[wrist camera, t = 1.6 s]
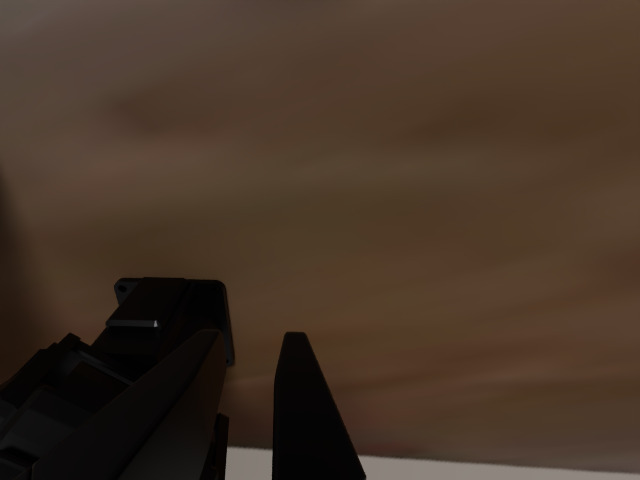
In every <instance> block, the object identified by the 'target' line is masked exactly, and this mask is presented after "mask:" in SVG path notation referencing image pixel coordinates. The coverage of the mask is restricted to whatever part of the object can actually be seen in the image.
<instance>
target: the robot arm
mask: <svg viewBox="0 0 640 480" xmlns="http://www.w3.org/2000/svg"><path fill="white" fill-rule="evenodd" d="M122 285H123V286H125V287H126V288H127V289H126V288H124V287H122ZM213 287H215V288H217V289H218V291H216V290H214V289H213ZM114 290H115V293H116V297H117V300H118V304H119V307H118V308H117V309H116V310H115V311H114V313H113V314H112V315H111V316H110V317H109V319H108V320H107V321H106V323H105V324H106V328H105V329H104V330H103V332H102V333H101V334H100V335H99V337H98V338H97V339H96V340H95V341H94V343H93V344H92V345H91V346H90V345H88V344H86V343H84V342H82V341H80V339H81V338H79V337H78V336H76V335H74V334H72V333H69V334H68V335H67V336H66V337H65V338H63V339H62V340H61V341H60V342H59V343H58V344H57V343H55V342H54V343H53V344H52V345H51V346H50V347H48V348H47V349H40V350H39V351H38V352H37V353H36V354H35V355H34V356H33V357H32V358H31V359H30V360H29V361H28V362H27V363H26V364H25V365H24V366H23V367H22V368H21V369H20V370H19V371H18V372H17V373H16V374H15V375H14V376H12V377H11V378H10V379H9V380H7V381H6V382H4V383H3V384H2V385H0V480H225V469H226V455H227V454H226V453H227V441H228V427H229V417H227V416H225V415H223V414H221V413H219V414H217V410H218V406H219V401H220V396H221V392H222V387H223V382H224V377H225V373H226V367H227V366H230V365H231V364H232V362H233V359H234V354H233V346H232V338H231V331H230V323H229V315H228V308H227V300H226V292H225V286H224V284H223V283H222V282H220V281H218V280H194V279H184V278H157V277H144V278H121V279H119V280H118V281H117V282H116V283H115V285H114ZM226 358H227V359H226ZM272 480H366V475H365V472H364V470H363V468H362V465H361V463H360V460H359V458H358V456H357V453H356V451H355V449H354V446H353V444H352V442H351V439H350V437H349V434H348V432H347V430H346V427H345V425H344V423H343V420H342V418H341V416H340V413H339V411H338V408H337V406H336V404H335V401H334V399H333V397H332V394H331V392H330V389H329V387H328V385H327V382H326V380H325V378H324V375H323V373H322V371H321V368H320V366H319V363H318V361H317V359H316V356H315V354H314V352H313V349H312V347H311V345H310V342H309V340H308V337H307V335H306V334H305V333H304V332H286V333H285V335H284V339H283V343H282V347H281V352H280V356H279V360H278V365H277V369H276V374H275V381H274V412H273V457H272Z"/></svg>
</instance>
